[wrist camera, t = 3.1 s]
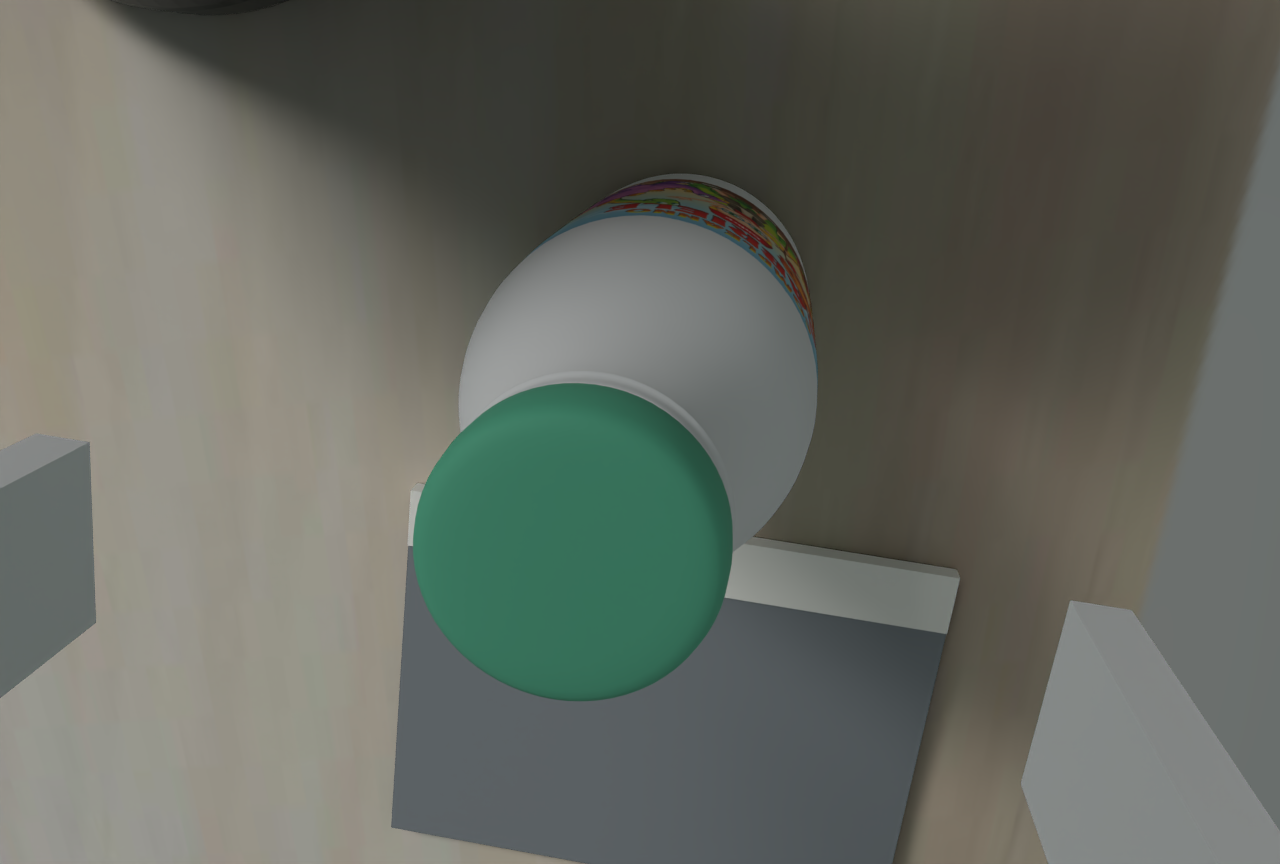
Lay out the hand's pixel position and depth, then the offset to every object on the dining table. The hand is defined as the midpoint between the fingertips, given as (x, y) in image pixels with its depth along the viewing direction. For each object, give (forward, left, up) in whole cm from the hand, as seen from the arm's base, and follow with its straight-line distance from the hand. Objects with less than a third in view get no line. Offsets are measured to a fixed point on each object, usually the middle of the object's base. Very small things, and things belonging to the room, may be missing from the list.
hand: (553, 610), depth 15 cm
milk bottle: (0, 0, -21) cm, 21 cm away
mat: (+1, -14, -21) cm, 25 cm away
